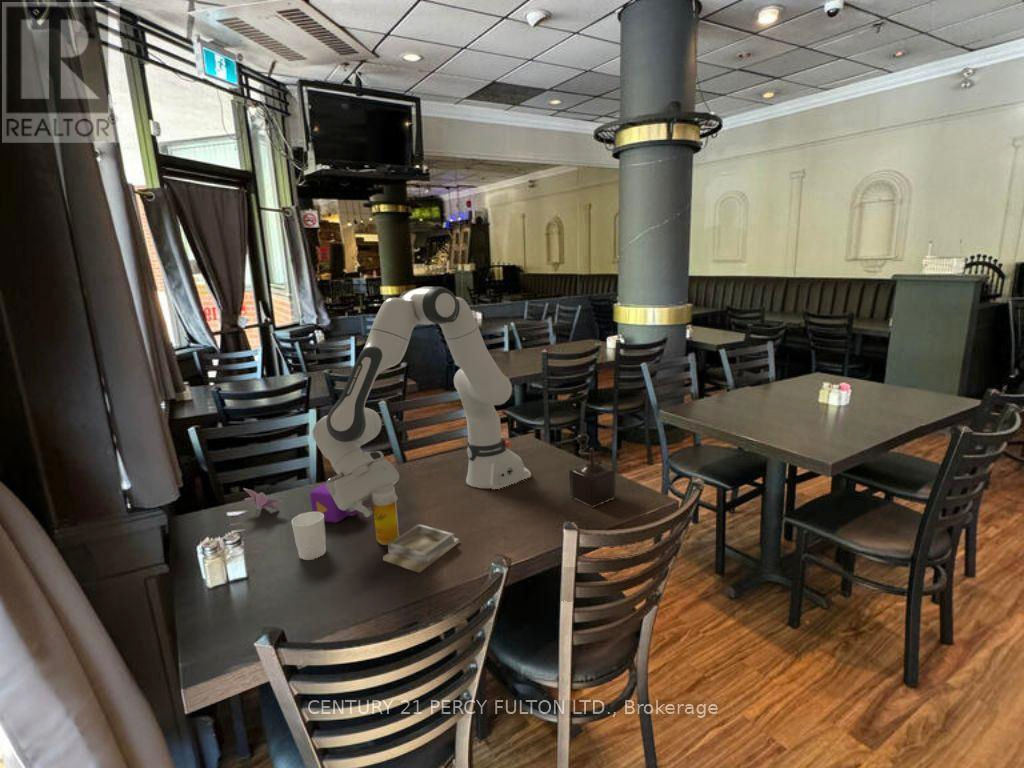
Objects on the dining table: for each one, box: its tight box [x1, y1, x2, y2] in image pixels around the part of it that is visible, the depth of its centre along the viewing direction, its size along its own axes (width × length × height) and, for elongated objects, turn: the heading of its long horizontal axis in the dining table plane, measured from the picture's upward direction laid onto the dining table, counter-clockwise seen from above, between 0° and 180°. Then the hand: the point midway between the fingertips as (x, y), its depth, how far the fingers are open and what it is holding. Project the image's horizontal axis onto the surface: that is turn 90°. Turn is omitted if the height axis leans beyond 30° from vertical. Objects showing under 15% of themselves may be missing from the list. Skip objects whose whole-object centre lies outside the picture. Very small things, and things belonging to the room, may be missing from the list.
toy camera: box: [309, 482, 359, 524], centre depth 156 cm, size 11×14×10 cm
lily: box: [242, 487, 284, 522], centre depth 159 cm, size 12×12×10 cm
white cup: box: [290, 511, 327, 561], centre depth 136 cm, size 8×8×10 cm
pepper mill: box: [568, 433, 617, 506], centre depth 163 cm, size 16×11×18 cm
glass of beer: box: [371, 485, 400, 546], centre depth 141 cm, size 6×6×15 cm
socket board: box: [382, 523, 460, 574], centre depth 136 cm, size 12×16×4 cm
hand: (383, 507), depth 141 cm, fingers open, 8 cm apart
